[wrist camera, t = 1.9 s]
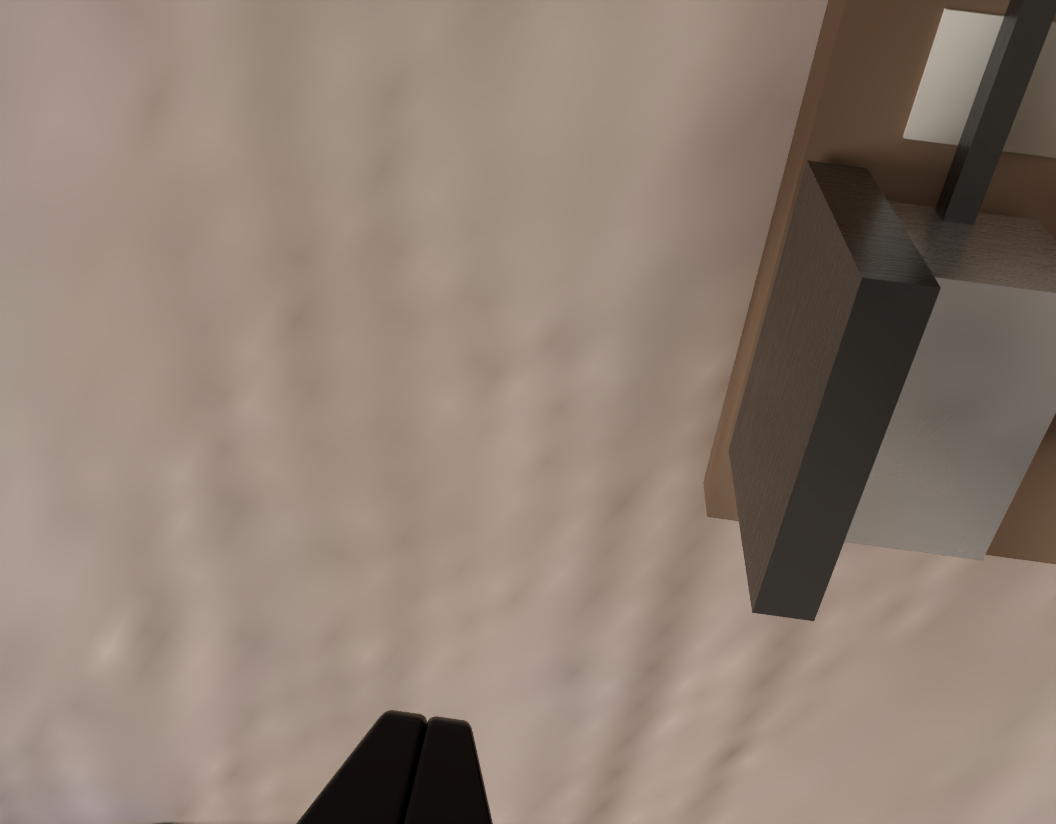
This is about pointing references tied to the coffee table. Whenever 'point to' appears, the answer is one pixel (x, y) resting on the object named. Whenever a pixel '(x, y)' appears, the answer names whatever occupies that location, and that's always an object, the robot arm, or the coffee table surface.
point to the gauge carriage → (899, 360)
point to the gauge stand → (911, 178)
